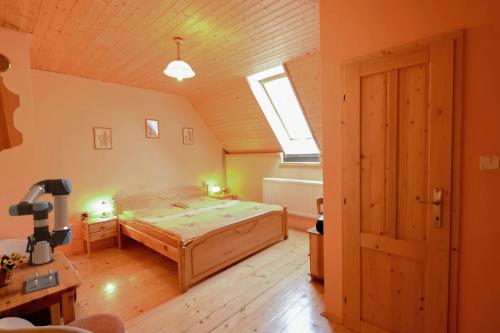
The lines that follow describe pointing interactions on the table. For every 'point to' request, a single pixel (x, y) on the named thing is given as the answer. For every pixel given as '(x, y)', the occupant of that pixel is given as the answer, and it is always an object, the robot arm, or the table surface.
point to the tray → (42, 282)
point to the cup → (42, 252)
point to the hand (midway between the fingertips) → (42, 260)
